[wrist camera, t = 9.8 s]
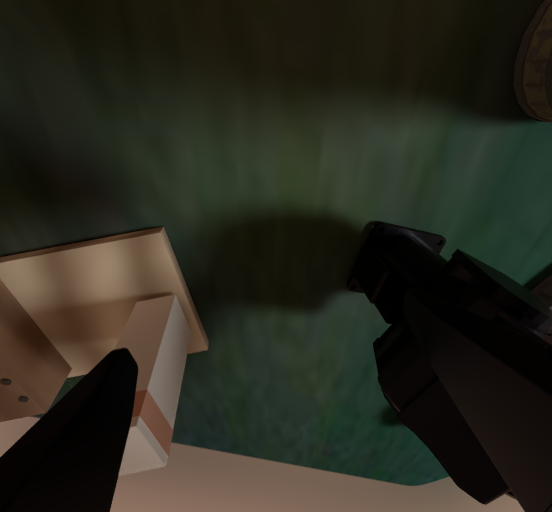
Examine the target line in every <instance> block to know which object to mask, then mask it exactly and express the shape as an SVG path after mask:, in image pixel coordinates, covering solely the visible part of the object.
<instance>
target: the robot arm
mask: <svg viewBox="0 0 552 512" xmlns="http://www.w3.org/2000/svg"><path fill="white" fill-rule="evenodd" d="M380 227H382V229H381V230H380V231H378V229H379V228H380ZM439 240H440V241H439ZM438 241H439V242H438ZM437 242H438V243H437ZM445 243H446V239H445V238H444V237H443V236H441V235H437V234H432V233H428V232H424V231H419V230H415V229H410V228H406V227H401V226H397V225H392V224H388V223H384V222H378V223H376V224H375V225H374V227H373V229H372V231H371V233H370V235H369V237H368V239H367V242H366V244H365V245H364V246H363V247H362V250H361V252H360V254H359V256H358V258H357V260H356V263H355V265H354V267H353V269H352V274H351V276H350V278H349V280H348V282H347V287H348V289H349V290H350V291H353V292H359V293H365V295H366V296H367V298H368V299H369V301H370V303H373V304H375V306H376V308H377V309H378V311H379V312H380V314H381V316H382V317H383V319H384V320H385V322H386V323H389V324H392V325H391V326H390V327H389V328H388V329H387V330H386V331H385V332H384V333H383V335H382V336H381V337H380V338H377V339H376V340H375V341H374V342H373V347H374V353H375V358H376V364H377V370H378V375H379V376H378V382H379V384H380V386H381V389H382V392H383V394H384V397H385V398H386V400H387V401H388V402H389V404H390V405H391V407H392V408H393V409H394V410H395V412H396V413H397V418H398V420H399V421H401V422H402V423H403V424H404V425H405V426H406V427H408V428H409V429H410V430H411V431H412V432H414V433H415V434H416V435H417V436H418V437H419V439H420V440H421V441H422V442H423V443H424V444H425V445H426V446H427V447H428V448H429V449H430V451H431V452H432V453H433V454H434V456H435V457H436V458H437V459H438V461H439V462H440V463H441V465H442V466H443V467H444V469H445V470H446V472H447V473H448V474H449V476H450V477H451V478H452V479H453V481H454V482H455V484H456V485H457V486H458V487H459V488H460V489H462V490H463V491H465V492H466V493H467V494H469V495H470V496H471V497H473V498H474V499H476V500H477V501H479V502H480V503H482V504H488V503H490V502H492V501H493V500H495V499H497V498H499V497H500V496H502V495H503V494H506V495H508V496H510V497H512V498H514V499H516V500H518V502H519V503H520V505H521V506H522V508H523V509H524V511H525V512H552V310H551V309H550V308H549V307H548V306H547V305H546V304H545V303H544V302H543V301H542V300H541V299H540V298H539V297H538V296H536V295H535V294H534V293H532V292H531V291H529V290H528V289H526V288H525V287H523V286H522V285H520V284H519V283H517V282H516V281H514V280H513V279H511V278H510V277H508V276H507V275H505V274H503V273H502V272H500V271H498V270H496V269H494V268H492V267H490V266H489V265H487V264H485V263H483V262H481V261H479V260H477V259H476V258H474V257H472V256H470V255H468V254H466V253H464V252H463V251H461V250H459V249H457V250H456V251H455V252H454V253H453V254H452V258H451V259H450V260H449V261H447V260H445V259H444V258H443V257H442V256H441V255H439V253H440V251H441V250H442V248H443V246H444V245H445ZM353 284H355V285H354V286H352V285H353ZM137 378H138V365H137V363H136V361H135V359H134V358H133V356H132V355H131V353H130V351H129V350H128V349H127V348H119V349H114V350H112V351H110V352H109V353H108V354H107V355H106V356H105V357H104V358H103V359H102V360H101V361H100V362H99V363H98V364H97V365H96V366H95V367H94V368H93V369H92V370H91V371H90V372H89V373H88V374H86V375H85V376H84V377H83V378H82V379H81V380H80V381H79V382H78V383H77V384H76V385H75V386H74V387H73V388H72V389H71V390H70V391H69V392H68V393H67V394H66V395H65V396H64V397H63V398H62V399H61V400H59V401H58V402H57V403H56V404H55V405H54V406H53V407H52V408H51V409H50V410H49V411H48V412H47V413H46V414H45V415H44V416H43V417H42V418H41V419H40V420H39V421H38V422H37V423H36V424H35V425H34V426H32V427H31V428H30V429H29V430H28V431H27V432H26V433H25V434H24V435H23V436H22V437H21V438H20V439H19V440H18V441H17V442H16V443H15V444H14V445H13V446H12V447H11V448H10V449H9V450H8V451H6V453H4V454H3V455H2V456H1V457H0V512H110V508H111V504H112V500H113V496H114V492H115V488H116V483H117V479H118V475H119V471H120V467H121V463H122V459H123V454H124V450H125V446H126V442H127V438H128V434H129V430H130V425H131V421H132V415H133V408H134V401H135V393H136V385H137Z"/></svg>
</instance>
